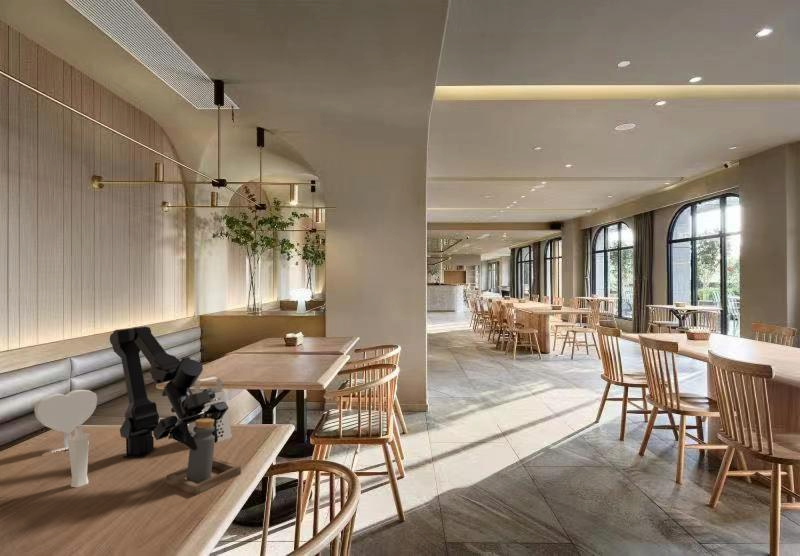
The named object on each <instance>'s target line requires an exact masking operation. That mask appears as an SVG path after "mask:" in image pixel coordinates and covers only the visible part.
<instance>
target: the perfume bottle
mask: <svg viewBox="0 0 800 556" xmlns="http://www.w3.org/2000/svg"><path fill="white" fill-rule="evenodd" d="M84 427H85V425H83V424H82V425H80V426H77V427H74V435H72V437H71V438H69V439H68V446H69V451H68V453H69V455H68V456H69V463H70V472H71V483H70V487H71V488H72V487H73V488H75V489H77V488H81V487H83V486H86V485H88V484H89V478H88V462H89V458H88V457H89V446H90V445H89V441H90V434H89V433H85V432H84Z"/></svg>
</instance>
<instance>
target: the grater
mask: <svg viewBox="0 0 800 556" xmlns="http://www.w3.org/2000/svg"><path fill="white" fill-rule="evenodd" d="M210 380H216V387H211V388H212V389H213V391H214V393H215V398H213V399H212V400H211V402H210V403H209V402H208V403H207V404H205V406H206V407H205V408H204V409H202V412H204V411H208V409H209V408H210V406H211V405H212V404H215V403H219V402H225V403H226V404H227V400H226V398H227V397H226V394H225V390H223V387H222V386H223V385H222V379H221V378H220V377H217V376H210V377H206V378H198V379H197V380H196V382H195V383H194V391H192V393H193V394H194V393H200V392H203V390H204V389H201V390H200V388H201V386H200V385H201V384H202V382H205V381H210ZM228 410H229V409H228ZM228 410H227V411H226V412H225V414H224V415H223V417H222V418H221V419H219V420H217V424H216V426H217V436H219V437H218V441H217V442H216V443H218V442H221V441H224V439H225V440H227V439H231V438H232V437H233V434H232V430H231V429H232V428H231V424H230V418H229V411H228ZM194 427H196V423H195V422H193V423H190V424H188V430H189V432H190V434H191V436H192V437H193V436H194V435H195V433H196V432H194V431H193V430H194ZM219 432H220V433H219ZM222 432H223V433H222ZM221 435H222V436H221Z"/></svg>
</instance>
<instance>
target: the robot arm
mask: <svg viewBox="0 0 800 556" xmlns="http://www.w3.org/2000/svg"><path fill="white" fill-rule="evenodd" d="M151 329H152V328H150V327H149V326H137V327H130V328H121V329H114V330H113V331H112V333H111V334H110V335H109V342H110V344H111V345H112V347H111V348H112V350H113V352H114V353H115V354H116V355H117V356H118V357H120V360H121V364H122V369H123V375H124V381H125V386H126V391H127V392H126V393H127V397H128V402H129V403H128V406H127V409H126V411H125V413H124V418H125V419H124V421H123V423H122V425H121V427H120V428H119V433H120V434H119V435H120V437H121V438H123V439H125V448H126V449H125V451H126V453H124V454H123V455H122V458H145V457H146V456H148V455H149V454H150V453H151V452H153V451H155V450H157V449H156V446H155V444H154V441H155V440H156V441H160V440H163V439H165V438H168V440H172V439H173V440H174V441H177V442H179V443H181V444H183V445H184V446H186V447H188V449H189V450H190V449H192V450H194V451H195V450H196V449H197V446H196V444H195V441H194V440H193V438H192V436H191V434H190V432H189V430H188V426H189V424H190V423H193V422H195V421H196V420H198V419H214V420H215V421H214V424H213V426H214V427H215V429H214V431H212V435H214V436H215V443H214V444H216V443H218V442H219V441H218V438H219V437H218V436H219V435H218V436H217V426H216V424H217V420H219V419H221V418H222V417H223V415H224V414H225V412H226V411H227V410H229V408H230V407H229V406H228V404H227V402H226V403H225V402H222V401H220V402H219V403H215V404H212V405H211V406H210V408H209V409H208V411H204V412H202V409H204V408H205V407H206V406H205V404H207V403H208V402H209V403H210V402H211V400H212V399H213V398H215V393H214V391H213V389H212V388H213V387H207V388H205V389H202V390H203V392H200V393H194V394H193V391H192V389H191V388H192V387H193V386H195V382H196V381H197V380H199V377H200V375H201V374H202V372H203V370H204V367H203V365H202V363H200V362H198V361H197V360H195V359H191V357H190V356H186V357H182V358H181V359H178V358H177V357H176V356H174V355H171V354H169V353H167V352H166V350H165V349H164V347H163V346H162V345H161V344H160V343H159V341H158V340H157V339H156V337H155V336H154V335H153V333H152V330H151ZM140 353H142V355H143V356H144V357H145V358H146V360H147V361H148V363H149V364H150V370H149V373H150V375H151V378H152V380H153V381H154V382H155V383H156V384H163V383H166V385H165V386H164V387H163V390H162V394H161V396H162V397H165V396H166V397H167V399H168V401H169V403H170V404H171V407H172V408H171V409H170V411H171V413H172V414H173V413H175V415H172V416H167V417H165V418H161V419H160V415H159V412H158V410H157V403H156V402H155V401H151V400H150V399H149V398H148V394H147V389H146V384H145V378H144V372H143V368H142V367H143V366H142V361H141V356H140ZM154 438H155V440H154ZM217 441H218V442H217Z"/></svg>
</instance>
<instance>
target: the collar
mask: <svg viewBox="0 0 800 556" xmlns="http://www.w3.org/2000/svg"><path fill="white" fill-rule="evenodd" d="M212 469H216V470H220V471H222V472H221V473H218V474H215V475H214V476H211V478H209V479H207V480H205V481H203V482H199V483H194V482H191V481H189V480H187V470H188V466H186V467H183V468H182V469H179V470H175V471H174V472H172V473H169V474H167V475H166V484H167V485H171V486H173V487H176V488H177V489H180V490H182V491H183V492H184V491H185V492H187V493H190V494H192V495H194V496H198V495H200V494H202V493H203V492H206V491H208V490H210V489H212V488H214V487H216V486H218V485H220V484H222V483H224V482H227V481H228V480H231V479H233V478H235V477H237V476H239V475H241V474H242V471H241V469H242V467H241V466H240V465H237V464H234V463H231V462H227V461H225V460H222V459H218V458H215V457H213V463H212Z"/></svg>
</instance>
